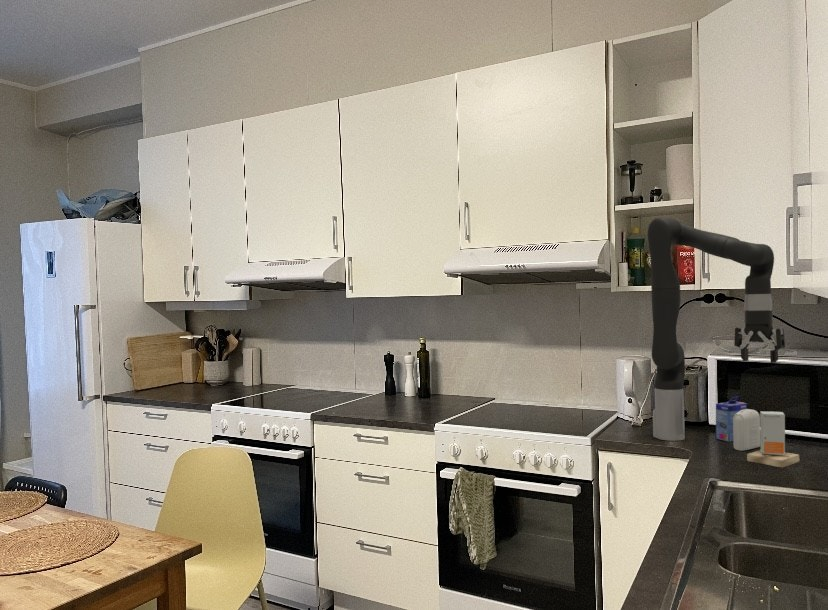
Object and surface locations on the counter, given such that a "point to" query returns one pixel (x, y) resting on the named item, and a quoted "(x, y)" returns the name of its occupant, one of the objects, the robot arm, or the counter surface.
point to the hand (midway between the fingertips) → (759, 361)
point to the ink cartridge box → (727, 418)
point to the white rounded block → (746, 430)
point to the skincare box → (772, 433)
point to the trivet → (773, 459)
